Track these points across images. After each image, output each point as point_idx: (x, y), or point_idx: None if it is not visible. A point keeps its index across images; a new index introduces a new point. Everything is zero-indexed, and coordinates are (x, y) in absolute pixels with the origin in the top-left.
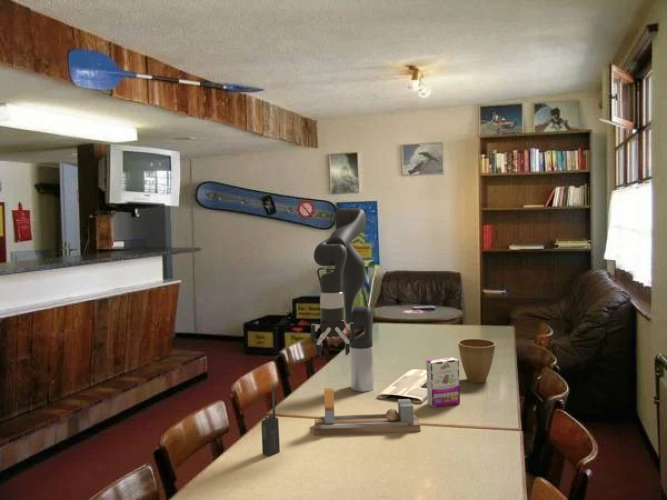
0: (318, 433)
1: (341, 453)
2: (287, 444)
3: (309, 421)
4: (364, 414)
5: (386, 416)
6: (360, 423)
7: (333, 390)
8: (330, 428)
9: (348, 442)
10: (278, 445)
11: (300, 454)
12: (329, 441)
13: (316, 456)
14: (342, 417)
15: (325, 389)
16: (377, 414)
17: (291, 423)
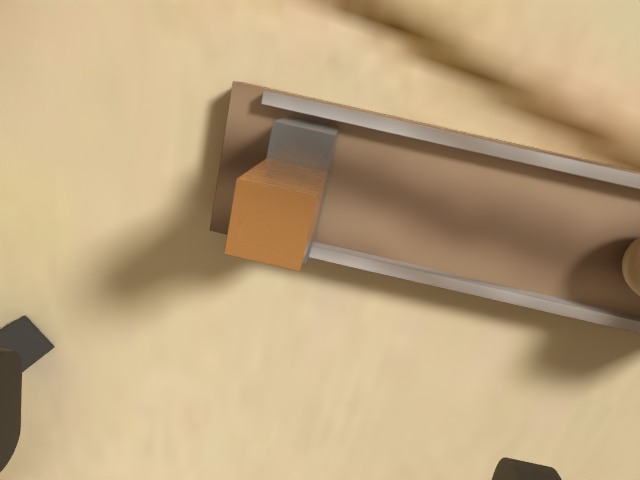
0: None
1: (292, 435)
2: (87, 283)
3: (220, 10)
4: (527, 150)
5: (624, 267)
6: (449, 279)
7: (301, 262)
8: None
9: (350, 349)
10: (33, 363)
11: (135, 392)
12: (271, 312)
13: (193, 428)
14: (390, 131)
15: (241, 214)
16: (602, 177)
17: (117, 10)
